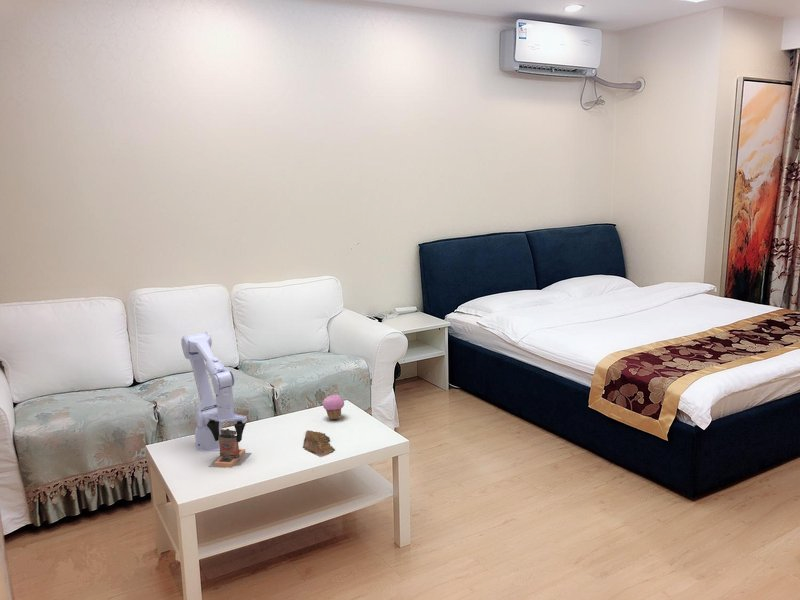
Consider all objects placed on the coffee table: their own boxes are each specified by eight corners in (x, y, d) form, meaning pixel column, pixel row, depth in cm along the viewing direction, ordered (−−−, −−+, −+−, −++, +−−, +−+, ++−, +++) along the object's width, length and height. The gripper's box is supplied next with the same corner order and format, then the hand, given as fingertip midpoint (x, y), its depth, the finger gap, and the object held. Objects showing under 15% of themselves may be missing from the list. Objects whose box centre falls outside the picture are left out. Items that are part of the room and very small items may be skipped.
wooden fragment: (337, 454, 222) (336, 452, 221) (307, 462, 219) (307, 459, 218) (324, 427, 246) (323, 425, 245) (297, 434, 243) (296, 431, 242)
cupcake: (345, 413, 261) (344, 391, 259) (344, 421, 252) (342, 399, 250) (324, 414, 261) (323, 392, 259) (322, 422, 252) (321, 399, 250)
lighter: (217, 456, 220) (215, 430, 218) (223, 452, 223) (221, 426, 221) (236, 459, 217) (233, 433, 215) (242, 455, 220) (239, 429, 218)
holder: (208, 468, 216) (208, 462, 215) (223, 452, 227) (223, 447, 227) (237, 469, 214) (237, 464, 213) (251, 454, 225) (251, 449, 225)
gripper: (200, 408, 213) (204, 444, 216) (239, 409, 211) (242, 446, 214) (210, 400, 220) (213, 435, 223) (248, 402, 218) (251, 437, 221)
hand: (228, 440), depth 219 cm, fingers closed on lighter, 7 cm apart
